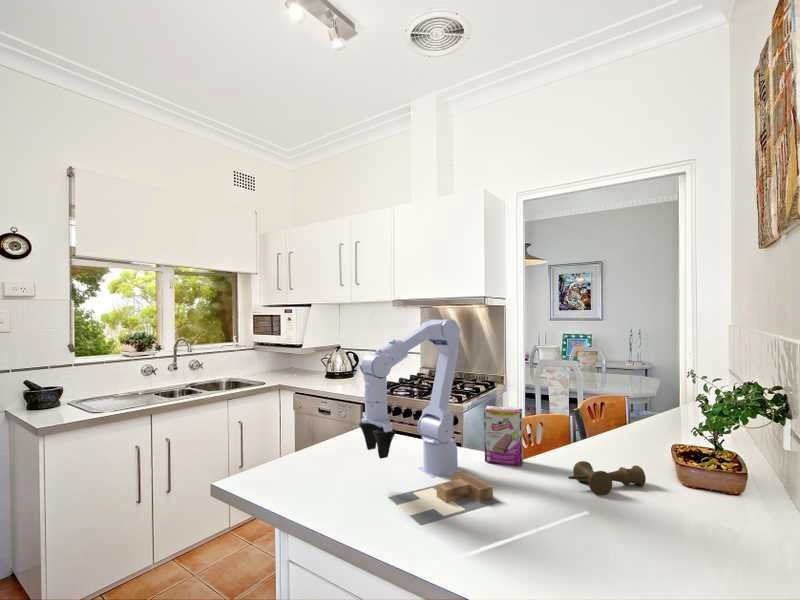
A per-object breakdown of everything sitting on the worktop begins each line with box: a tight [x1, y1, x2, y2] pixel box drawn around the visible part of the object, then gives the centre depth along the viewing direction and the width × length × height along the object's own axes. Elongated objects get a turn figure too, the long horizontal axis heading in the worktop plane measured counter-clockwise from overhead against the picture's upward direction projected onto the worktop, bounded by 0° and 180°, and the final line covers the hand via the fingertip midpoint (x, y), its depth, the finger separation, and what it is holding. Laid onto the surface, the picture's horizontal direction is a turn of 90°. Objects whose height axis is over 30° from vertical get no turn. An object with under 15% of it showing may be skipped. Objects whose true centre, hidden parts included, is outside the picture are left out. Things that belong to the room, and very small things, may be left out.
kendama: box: [567, 460, 646, 496], centre depth 110 cm, size 6×10×20 cm
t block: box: [436, 470, 494, 503], centre depth 105 cm, size 11×12×3 cm
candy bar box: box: [483, 405, 524, 467], centre depth 129 cm, size 11×5×16 cm, turn 71°
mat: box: [388, 484, 500, 526], centre depth 102 cm, size 22×16×1 cm
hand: (377, 453), depth 109 cm, fingers open, 7 cm apart
